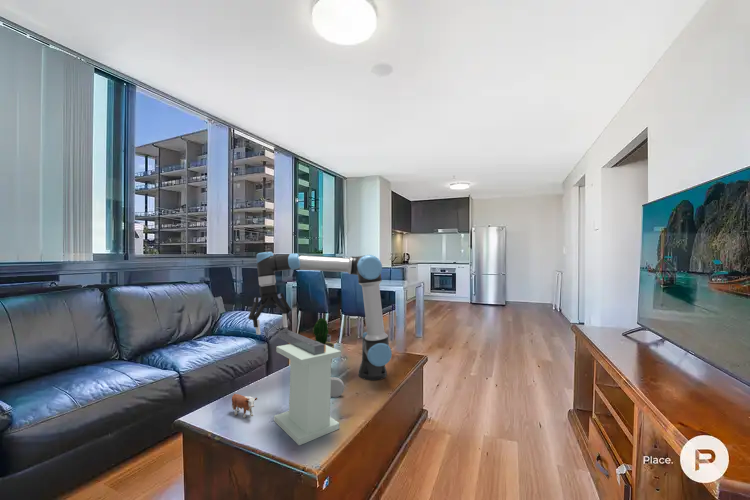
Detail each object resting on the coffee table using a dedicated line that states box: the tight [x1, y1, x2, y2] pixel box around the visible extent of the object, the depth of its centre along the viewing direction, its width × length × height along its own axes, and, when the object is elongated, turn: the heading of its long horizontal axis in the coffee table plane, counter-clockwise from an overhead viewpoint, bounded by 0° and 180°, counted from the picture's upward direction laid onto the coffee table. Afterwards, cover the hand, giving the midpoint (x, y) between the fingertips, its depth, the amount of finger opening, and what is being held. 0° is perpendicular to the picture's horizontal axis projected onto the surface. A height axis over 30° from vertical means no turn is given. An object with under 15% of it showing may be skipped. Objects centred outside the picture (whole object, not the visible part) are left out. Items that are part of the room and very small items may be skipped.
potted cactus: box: [313, 317, 335, 364], centre depth 167 cm, size 15×15×30 cm
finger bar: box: [277, 329, 326, 355], centre depth 120 cm, size 30×5×3 cm, turn 42°
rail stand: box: [273, 342, 342, 446], centre depth 114 cm, size 20×16×28 cm
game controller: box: [330, 376, 345, 398], centre depth 139 cm, size 20×2×8 cm, turn 88°
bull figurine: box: [231, 393, 258, 419], centre depth 120 cm, size 4×13×8 cm, turn 58°
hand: (272, 330), depth 142 cm, fingers open, 13 cm apart
